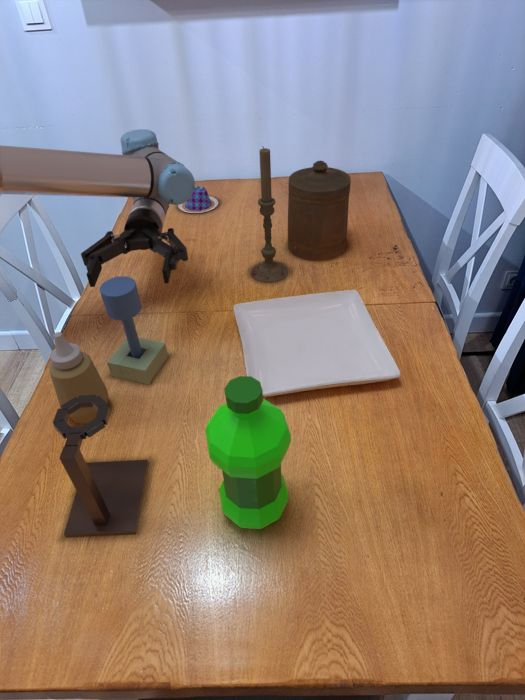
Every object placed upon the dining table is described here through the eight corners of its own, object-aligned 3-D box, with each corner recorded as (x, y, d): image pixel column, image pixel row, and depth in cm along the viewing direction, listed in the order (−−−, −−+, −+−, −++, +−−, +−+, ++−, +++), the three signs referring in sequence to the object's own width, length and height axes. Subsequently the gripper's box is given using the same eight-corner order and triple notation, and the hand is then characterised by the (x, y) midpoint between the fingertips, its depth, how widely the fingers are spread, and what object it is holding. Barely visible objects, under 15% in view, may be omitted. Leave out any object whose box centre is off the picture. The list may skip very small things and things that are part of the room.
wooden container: (347, 234, 130) (353, 150, 116) (344, 264, 120) (351, 175, 105) (291, 232, 133) (291, 149, 118) (284, 260, 122) (282, 173, 107)
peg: (119, 375, 93) (92, 293, 81) (135, 354, 98) (111, 274, 85) (147, 381, 92) (124, 298, 79) (161, 360, 96) (142, 278, 83)
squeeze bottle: (64, 434, 83) (26, 356, 71) (68, 400, 89) (33, 322, 77) (112, 425, 84) (83, 347, 72) (113, 392, 90) (86, 314, 78)
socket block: (112, 377, 93) (106, 362, 90) (133, 350, 99) (128, 335, 96) (149, 386, 91) (145, 370, 88) (168, 358, 96) (165, 342, 94)
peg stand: (86, 467, 78) (51, 393, 67) (149, 463, 78) (125, 389, 66) (66, 538, 69) (21, 467, 58) (137, 535, 69) (106, 463, 57)
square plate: (251, 410, 85) (250, 395, 83) (233, 316, 106) (232, 302, 103) (400, 388, 88) (403, 373, 85) (355, 300, 108) (356, 286, 105)
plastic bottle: (224, 476, 75) (205, 357, 59) (293, 481, 74) (293, 360, 58) (213, 538, 68) (187, 421, 51) (289, 544, 67) (287, 426, 50)
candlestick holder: (253, 263, 122) (245, 138, 102) (290, 264, 120) (289, 138, 101) (247, 283, 115) (238, 154, 95) (286, 285, 114) (284, 154, 94)
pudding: (223, 199, 150) (221, 182, 147) (211, 216, 142) (209, 199, 138) (186, 196, 153) (184, 180, 149) (172, 214, 144) (169, 197, 140)
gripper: (205, 236, 107) (199, 292, 91) (91, 242, 107) (65, 299, 91) (201, 204, 102) (193, 257, 86) (82, 210, 102) (52, 264, 86)
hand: (127, 278), depth 88 cm, fingers open, 13 cm apart
